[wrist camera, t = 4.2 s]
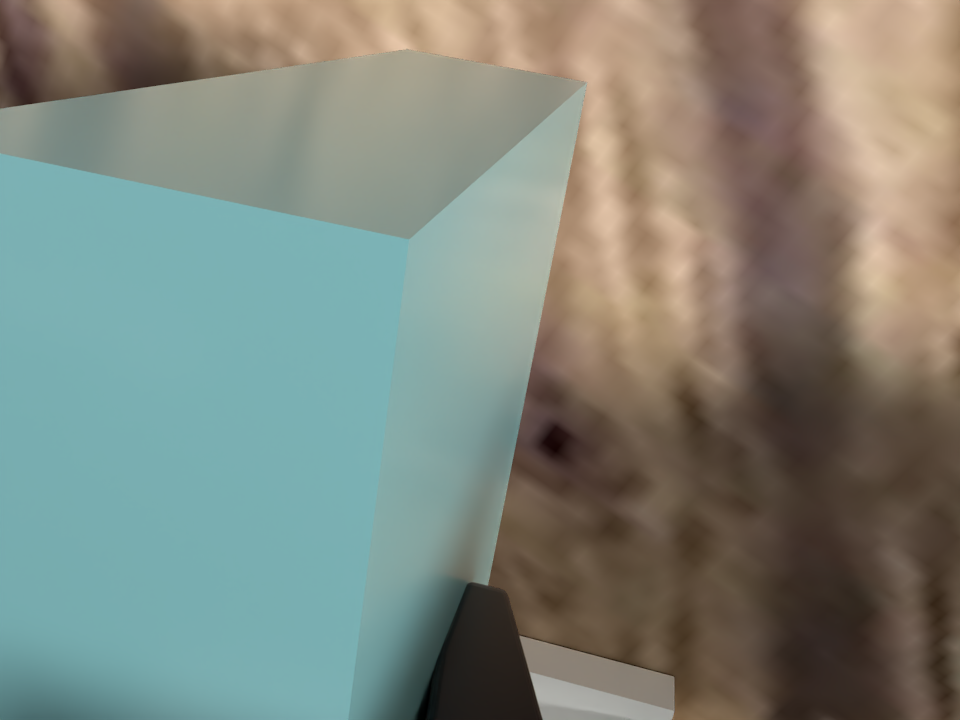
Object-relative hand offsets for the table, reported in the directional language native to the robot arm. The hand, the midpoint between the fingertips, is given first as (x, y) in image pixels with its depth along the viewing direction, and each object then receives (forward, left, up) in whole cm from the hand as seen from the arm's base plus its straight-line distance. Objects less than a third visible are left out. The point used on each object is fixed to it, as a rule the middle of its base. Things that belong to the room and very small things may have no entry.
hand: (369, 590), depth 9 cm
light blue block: (0, 0, -3) cm, 3 cm away
